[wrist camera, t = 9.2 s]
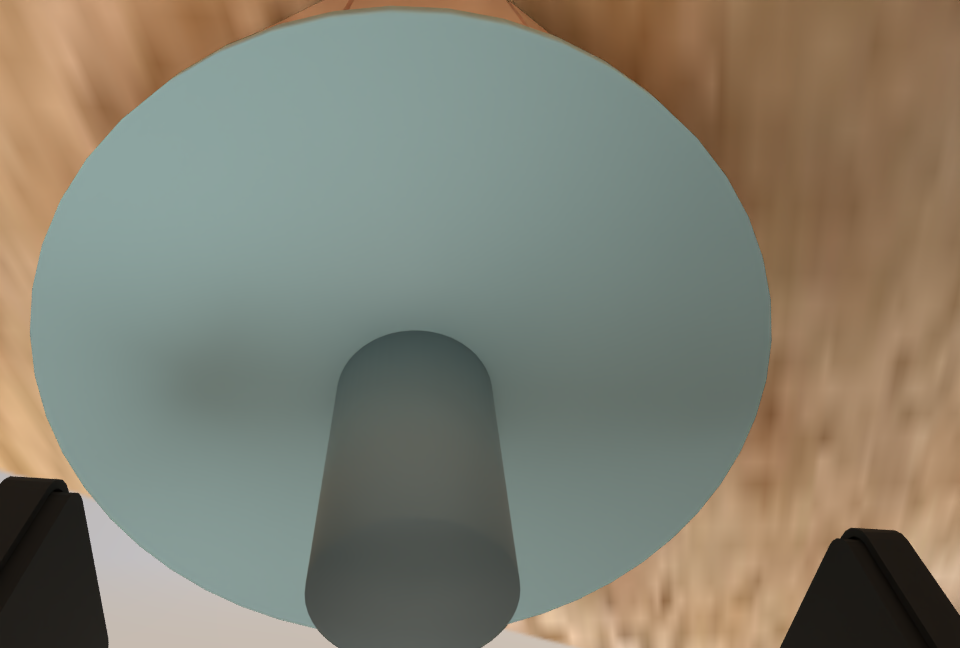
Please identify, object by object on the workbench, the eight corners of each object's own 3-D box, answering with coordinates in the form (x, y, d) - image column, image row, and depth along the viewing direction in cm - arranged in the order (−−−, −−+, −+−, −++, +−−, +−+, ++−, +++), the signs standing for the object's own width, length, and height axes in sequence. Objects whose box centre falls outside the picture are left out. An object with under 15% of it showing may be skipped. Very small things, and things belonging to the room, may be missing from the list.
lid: (856, 55, 12) (1118, 159, 8) (664, 614, 19) (745, 854, 14) (-18, -47, 11) (-347, 7, 6) (98, 600, 17) (-19, 864, 12)
